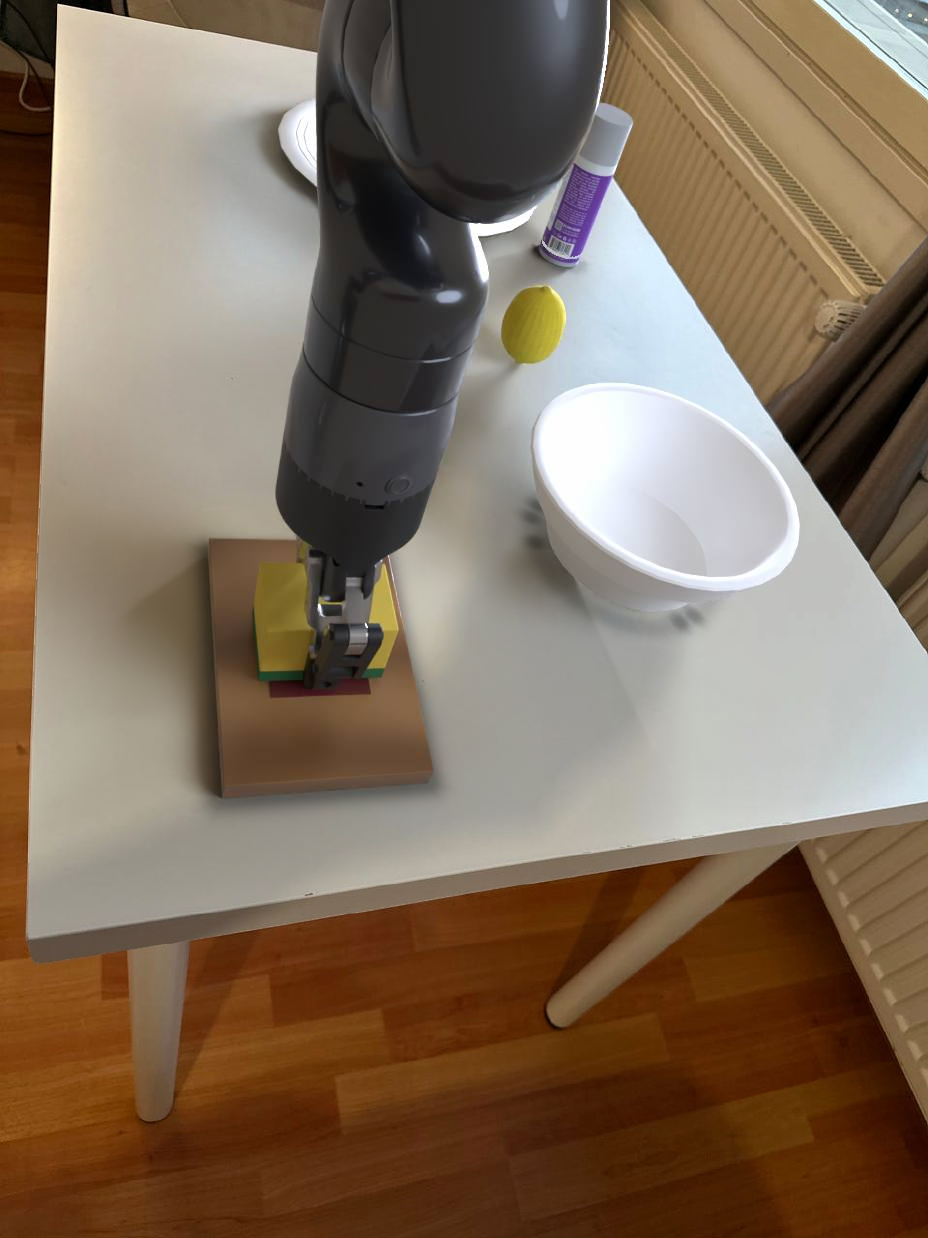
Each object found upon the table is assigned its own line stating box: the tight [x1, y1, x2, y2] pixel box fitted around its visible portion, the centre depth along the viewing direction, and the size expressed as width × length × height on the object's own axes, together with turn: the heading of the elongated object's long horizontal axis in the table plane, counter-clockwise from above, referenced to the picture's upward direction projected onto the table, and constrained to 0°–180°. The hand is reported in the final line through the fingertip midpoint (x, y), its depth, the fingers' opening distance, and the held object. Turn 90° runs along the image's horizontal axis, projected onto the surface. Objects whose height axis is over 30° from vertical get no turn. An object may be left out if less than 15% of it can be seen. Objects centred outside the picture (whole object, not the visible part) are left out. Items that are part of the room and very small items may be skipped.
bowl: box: [530, 382, 801, 613], centre depth 67 cm, size 21×21×8 cm
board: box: [207, 537, 435, 799], centre depth 55 cm, size 18×12×2 cm, turn 12°
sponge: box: [252, 562, 398, 681], centre depth 52 cm, size 8×5×5 cm, turn 102°
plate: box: [277, 97, 537, 239], centre depth 97 cm, size 29×29×2 cm
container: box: [538, 102, 634, 268], centre depth 91 cm, size 5×5×15 cm
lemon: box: [500, 285, 567, 365], centre depth 79 cm, size 6×6×8 cm
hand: (315, 645), depth 54 cm, fingers closed on sponge, 5 cm apart
